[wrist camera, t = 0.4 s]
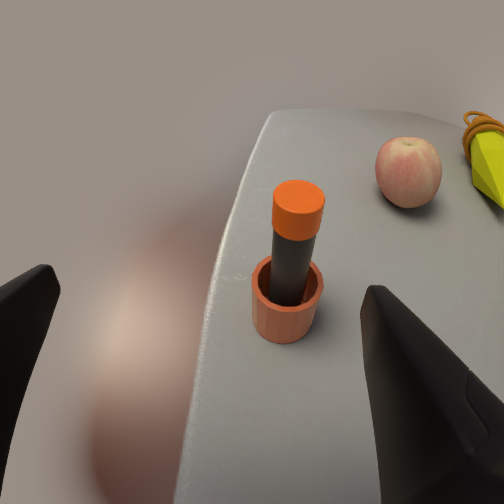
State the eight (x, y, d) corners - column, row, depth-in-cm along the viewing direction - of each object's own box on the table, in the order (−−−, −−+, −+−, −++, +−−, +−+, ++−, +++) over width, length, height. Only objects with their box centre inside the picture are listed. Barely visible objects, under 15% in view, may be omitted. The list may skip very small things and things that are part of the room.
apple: (408, 177, 37) (426, 125, 31) (439, 217, 33) (464, 163, 27) (357, 180, 37) (371, 123, 30) (386, 225, 32) (408, 164, 26)
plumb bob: (521, 238, 31) (494, 136, 44) (544, 191, 24) (501, 96, 37) (467, 228, 35) (453, 128, 47) (483, 177, 28) (456, 87, 41)
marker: (300, 327, 24) (329, 213, 15) (266, 328, 24) (274, 212, 15) (298, 299, 26) (321, 180, 16) (266, 299, 26) (272, 178, 16)
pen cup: (314, 343, 24) (327, 311, 20) (252, 344, 24) (251, 311, 20) (309, 291, 27) (319, 252, 23) (252, 291, 27) (252, 252, 23)
